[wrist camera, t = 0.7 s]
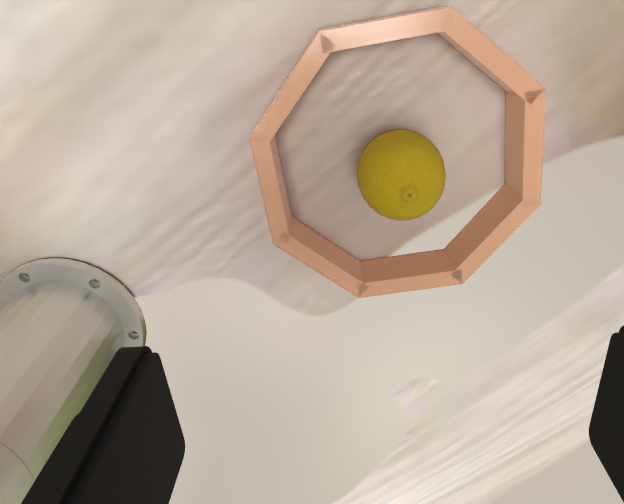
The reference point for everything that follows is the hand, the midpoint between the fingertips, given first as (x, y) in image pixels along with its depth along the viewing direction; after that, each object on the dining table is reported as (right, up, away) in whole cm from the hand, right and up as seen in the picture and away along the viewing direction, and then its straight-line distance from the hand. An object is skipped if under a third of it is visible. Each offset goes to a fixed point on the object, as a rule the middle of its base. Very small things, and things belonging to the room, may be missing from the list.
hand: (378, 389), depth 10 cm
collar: (+4, +10, +25) cm, 27 cm away
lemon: (+4, +10, +25) cm, 27 cm away
